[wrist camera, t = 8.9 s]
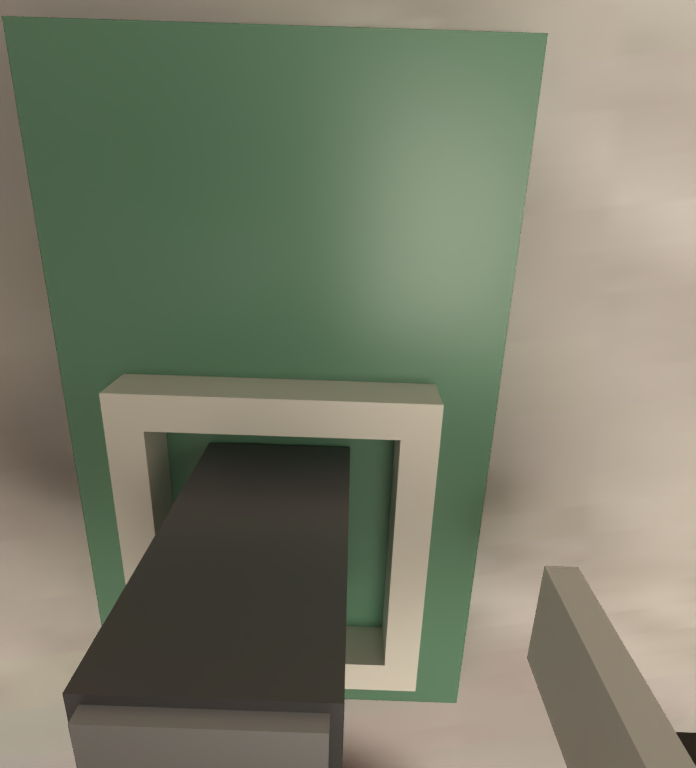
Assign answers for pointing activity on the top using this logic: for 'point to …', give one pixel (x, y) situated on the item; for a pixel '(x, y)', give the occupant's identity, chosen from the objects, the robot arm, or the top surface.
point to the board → (286, 284)
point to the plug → (228, 624)
